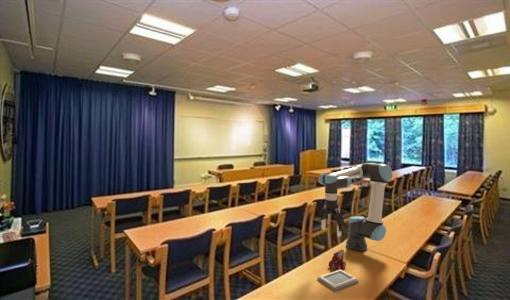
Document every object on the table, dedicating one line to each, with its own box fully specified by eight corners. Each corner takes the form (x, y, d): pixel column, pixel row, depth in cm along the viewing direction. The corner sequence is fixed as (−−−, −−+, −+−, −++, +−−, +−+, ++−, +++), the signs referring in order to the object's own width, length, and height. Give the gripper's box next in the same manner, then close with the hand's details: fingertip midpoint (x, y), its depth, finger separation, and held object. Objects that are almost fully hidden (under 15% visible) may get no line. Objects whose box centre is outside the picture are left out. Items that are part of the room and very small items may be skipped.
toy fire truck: (326, 268, 171) (326, 252, 171) (338, 262, 179) (338, 247, 178) (335, 272, 166) (336, 256, 165) (347, 266, 173) (347, 250, 173)
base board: (339, 272, 166) (339, 268, 166) (358, 282, 154) (358, 278, 154) (317, 279, 158) (317, 275, 158) (335, 291, 145) (335, 287, 145)
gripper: (313, 196, 178) (313, 227, 179) (342, 204, 156) (341, 240, 157) (321, 195, 182) (321, 226, 183) (351, 202, 160) (351, 237, 161)
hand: (331, 232), depth 170 cm, fingers open, 13 cm apart
